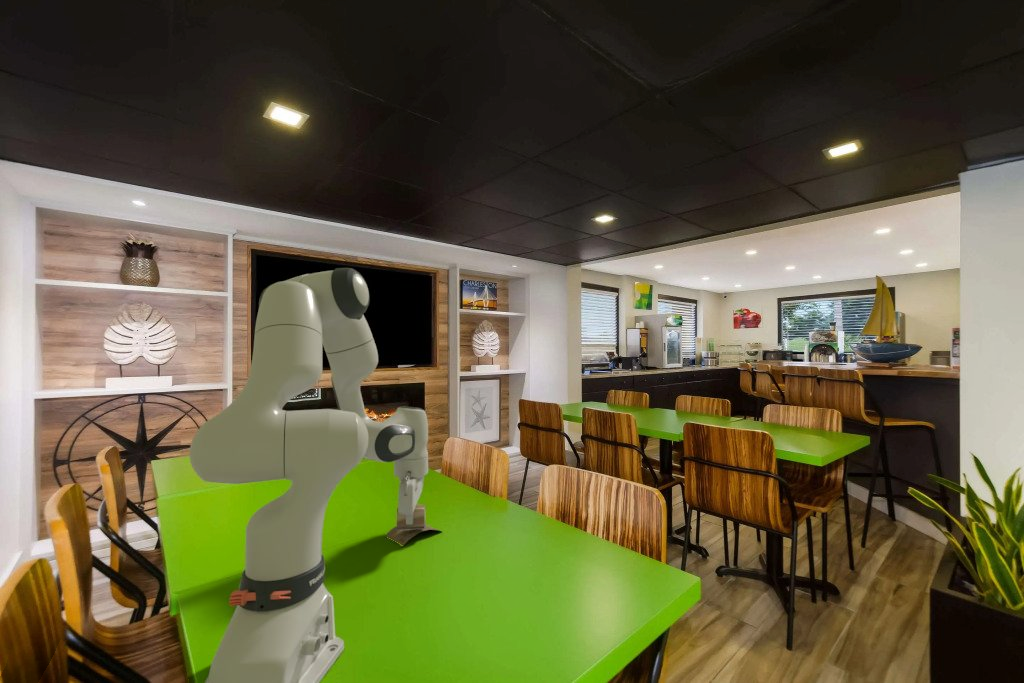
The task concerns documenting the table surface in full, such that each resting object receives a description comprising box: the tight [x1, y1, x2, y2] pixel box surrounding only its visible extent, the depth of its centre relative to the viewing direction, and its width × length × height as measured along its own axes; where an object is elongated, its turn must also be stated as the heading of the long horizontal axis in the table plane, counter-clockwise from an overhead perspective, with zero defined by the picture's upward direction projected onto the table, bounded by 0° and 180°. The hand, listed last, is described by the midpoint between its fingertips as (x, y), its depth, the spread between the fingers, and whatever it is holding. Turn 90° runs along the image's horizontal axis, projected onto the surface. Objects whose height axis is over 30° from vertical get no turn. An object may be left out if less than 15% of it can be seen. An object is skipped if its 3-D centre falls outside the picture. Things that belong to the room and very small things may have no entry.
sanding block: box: [396, 504, 427, 529], centre depth 116 cm, size 4×7×5 cm, turn 95°
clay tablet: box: [385, 524, 443, 547], centre depth 119 cm, size 14×10×3 cm
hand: (411, 520), depth 116 cm, fingers closed on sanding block, 3 cm apart
